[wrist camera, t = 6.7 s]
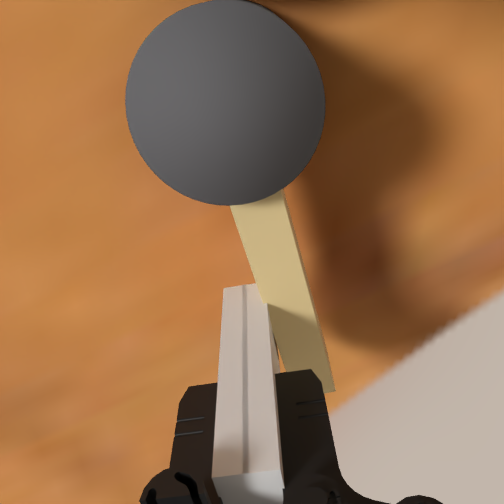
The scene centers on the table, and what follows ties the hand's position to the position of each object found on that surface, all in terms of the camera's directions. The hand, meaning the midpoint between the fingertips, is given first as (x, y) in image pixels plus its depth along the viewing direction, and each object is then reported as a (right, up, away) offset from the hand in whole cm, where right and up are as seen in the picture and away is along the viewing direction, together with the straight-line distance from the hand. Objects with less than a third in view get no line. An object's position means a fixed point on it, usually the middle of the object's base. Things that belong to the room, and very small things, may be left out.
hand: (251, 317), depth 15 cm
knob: (0, +4, +1) cm, 4 cm away
